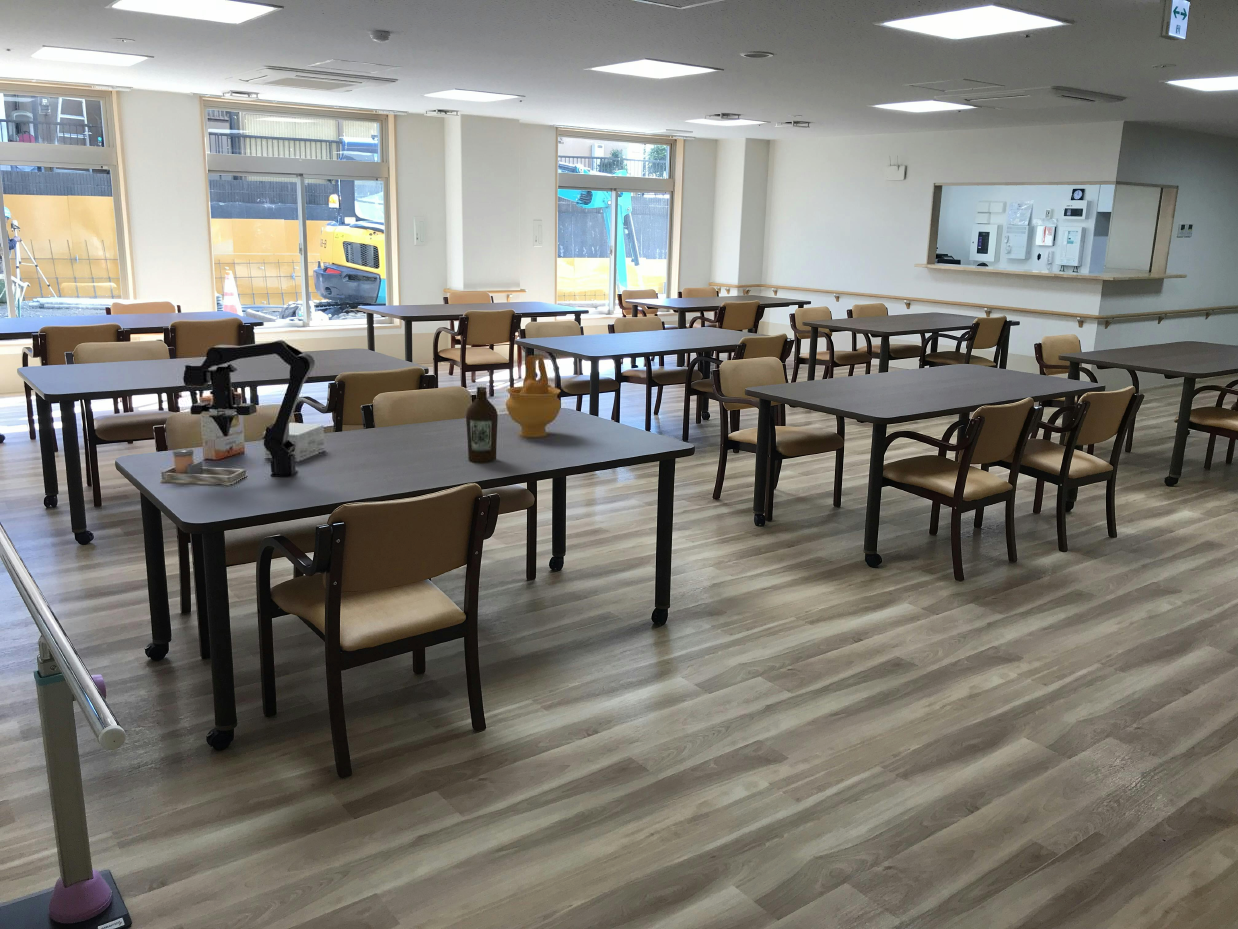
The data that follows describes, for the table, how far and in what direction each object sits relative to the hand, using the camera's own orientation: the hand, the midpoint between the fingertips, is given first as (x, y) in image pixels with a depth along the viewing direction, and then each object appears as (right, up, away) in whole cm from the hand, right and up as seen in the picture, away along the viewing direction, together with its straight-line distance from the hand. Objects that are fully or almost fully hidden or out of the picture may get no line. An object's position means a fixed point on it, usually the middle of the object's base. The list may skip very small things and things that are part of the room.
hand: (226, 436), depth 305 cm
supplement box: (+11, -6, +31) cm, 33 cm away
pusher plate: (-8, -13, -3) cm, 16 cm away
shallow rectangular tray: (-5, -13, -3) cm, 15 cm away
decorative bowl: (+89, +3, +71) cm, 114 cm away
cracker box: (-11, -6, +26) cm, 29 cm away
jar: (-11, -12, -3) cm, 17 cm away
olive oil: (+76, -7, +29) cm, 81 cm away
